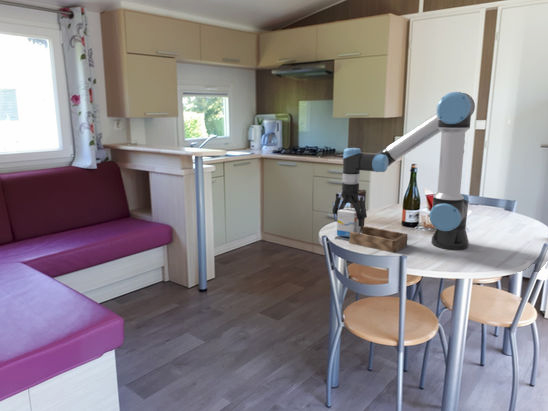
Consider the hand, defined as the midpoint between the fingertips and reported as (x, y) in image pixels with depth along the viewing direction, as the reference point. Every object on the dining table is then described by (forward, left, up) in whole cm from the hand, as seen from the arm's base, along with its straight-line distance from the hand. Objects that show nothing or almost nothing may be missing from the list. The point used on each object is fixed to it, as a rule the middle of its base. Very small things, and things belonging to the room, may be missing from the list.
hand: (348, 230), depth 204 cm
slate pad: (0, 0, -3) cm, 3 cm away
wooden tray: (-14, +1, -3) cm, 14 cm away
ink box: (0, 0, -2) cm, 2 cm away
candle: (+3, -13, -3) cm, 14 cm away
